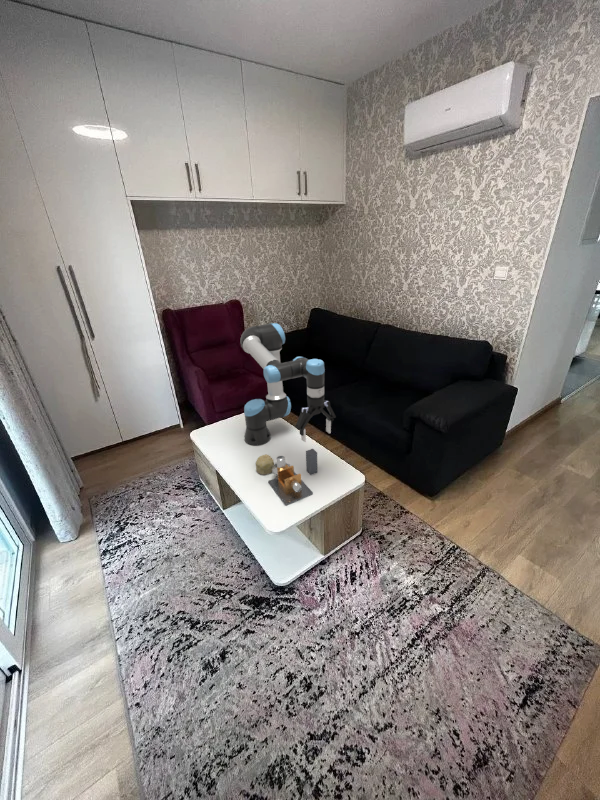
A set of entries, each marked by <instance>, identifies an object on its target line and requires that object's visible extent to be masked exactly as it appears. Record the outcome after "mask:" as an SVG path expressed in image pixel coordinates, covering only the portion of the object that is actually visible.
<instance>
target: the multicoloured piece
mask: <svg viewBox="0 0 600 800" xmlns="http://www.w3.org/2000/svg"><path fill="white" fill-rule="evenodd" d="M271 473H273V474H274V475H275V476H277V477H275V478H272V479H270V480H268V481H267V482H268V484H269V485H270V487H271V489H272V490H273V491H274V493H275V494H276V495H277V497H278V498H279V499H280V501H281V502H282V503H283V504H284V506H285V507H286V506H288V505H289V506H290V505H291V504H293V503H296V502H298V501H301V500H303V499H306V498H307V497H309V496H312V495H314V492H313V491H312V489H311V488H309V486H308V485H307V484H306V483H305V482H304V481H303V479H302V474H301V473H298V474H297V473H296V472H295V468H294V465H290V464H289V463H288V462H286V457H285V456H283V455H279V456H277V457H276V463H274V465H273V467H272V472H271Z"/></svg>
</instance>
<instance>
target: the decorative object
mask: <svg viewBox="0 0 600 800" xmlns="http://www.w3.org/2000/svg"><path fill="white" fill-rule="evenodd" d="M273 465H275V462H274V459H273V457H272V456H271V455H270V454H262V455H260V456H259V457H257V459H256V461H255V472H256V473H258V474H259V475H262V476H267V475H269V474H272V473H273V472H272V467H273Z"/></svg>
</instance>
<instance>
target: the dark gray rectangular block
mask: <svg viewBox="0 0 600 800" xmlns="http://www.w3.org/2000/svg"><path fill="white" fill-rule="evenodd" d="M305 468H306V473H308V474H309V476H312V475H315V474H318V452H317V451H316V450H315V449H314V448H310V449H307V450H305Z"/></svg>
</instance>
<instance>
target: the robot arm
mask: <svg viewBox="0 0 600 800" xmlns="http://www.w3.org/2000/svg"><path fill="white" fill-rule="evenodd" d="M240 336H241V337H240V347H241V348H242V350H243V351H244V352H245V353H247V354H250V356H251V357H252V358H253V359H254V360H255V361H256V362H257V364H258V365H259V366H260V367H261V368H262V369H263V377H264V379H265V381H266V383H267V384H266V385H267V392H268V394H266V395H265V398H266V399H265V400H264V399H262V398H255V399H251V400H249V401H247V402H246V404H244V407H243V408H244V409H243V411H244V412H243V414H244V419H245V432H244V435H243V436H244V437H243V438H244V442H245V443H246V444H247V445H249V446H254V447H255V446H263V445H265V444H268V442H270V440H271V432H270V430H269V428H268V426H267V422H269V421H273V420H276V419H277V420H278V419H280V418H284V417H287V416H289V414H290V413H291V409H292V402H291V399H290V397H289V396H287V394H286V393H285V392H284V386H283V385H284V384H283V381H287V380H291V379H296V378H301V377H303V378H304V379H306V402H307V407H304V406H302V407H301V408H300V413H299V416H298V418H297V421H296V424H295V428H296V429H297V430H299V435H300V437H301V438H300V440H301V441H302V442H303V443H306V440H307V439H306V436H307V435H306V434H307V433H306V427H307V425H308V423H309V421H310V420H311V418H313V416H317V415H320V414H321V413H322V414H323V415H324V416H325V417H326V419H325V426H326V427H325V432H327V433H328V434H331V432H332V430H331V429H332V426H333V422H334V420H335V419H336V418H337V416H336V414H335V412H334V410H333V408H332V407H331V402H330V401H329V400H328V399H327V400H326V399H325V372H326V371H325V370H326V369H325V362H324V361H323V360H322V359H318V358H312V359H308V358H306V357H304V356H296V357H294V358H293V359H292V360H290V361H285V362H281V354H280V352H281V350H282V349H283V346H282V345H284V344H285V343H286V334H285V332H284V329H283V328H282V326H281V325H280V324H279V323H276V322H275V323H274V322H273V323H264V324H259V325H254V326H253V325H252V326H249V327H248V328H246V329H244V331H243V332H242V334H241V335H240ZM325 407H326V409H327V411H328V412H326V411H325V409H324V408H325ZM328 413H329V414H328Z"/></svg>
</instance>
